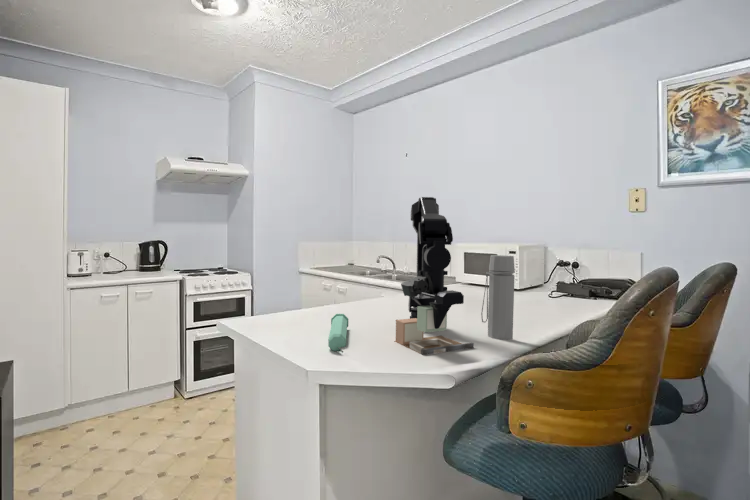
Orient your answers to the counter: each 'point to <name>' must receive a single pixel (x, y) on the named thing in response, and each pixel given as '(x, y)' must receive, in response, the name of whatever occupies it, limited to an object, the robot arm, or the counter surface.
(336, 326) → the container
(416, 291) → the robot arm
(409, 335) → the rust box
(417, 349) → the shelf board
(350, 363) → the counter surface
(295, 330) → the counter surface
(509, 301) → the water bottle
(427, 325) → the tea box
